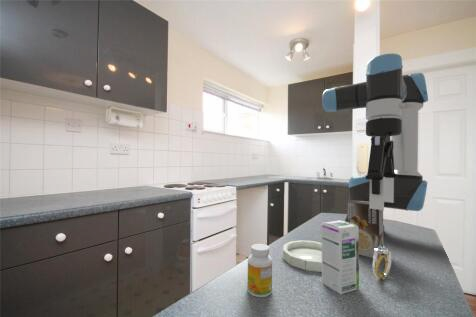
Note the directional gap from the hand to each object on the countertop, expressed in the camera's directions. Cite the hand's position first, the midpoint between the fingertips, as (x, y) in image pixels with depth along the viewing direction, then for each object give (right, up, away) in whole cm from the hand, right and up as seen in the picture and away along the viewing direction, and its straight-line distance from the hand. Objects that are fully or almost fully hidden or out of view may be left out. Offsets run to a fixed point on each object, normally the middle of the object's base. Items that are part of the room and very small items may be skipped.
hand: (382, 205), depth 56 cm
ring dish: (-14, -18, +11) cm, 26 cm away
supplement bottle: (-31, -18, -6) cm, 36 cm away
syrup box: (-12, -18, -4) cm, 22 cm away
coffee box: (+5, -19, +16) cm, 25 cm away
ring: (0, -18, 0) cm, 18 cm away
